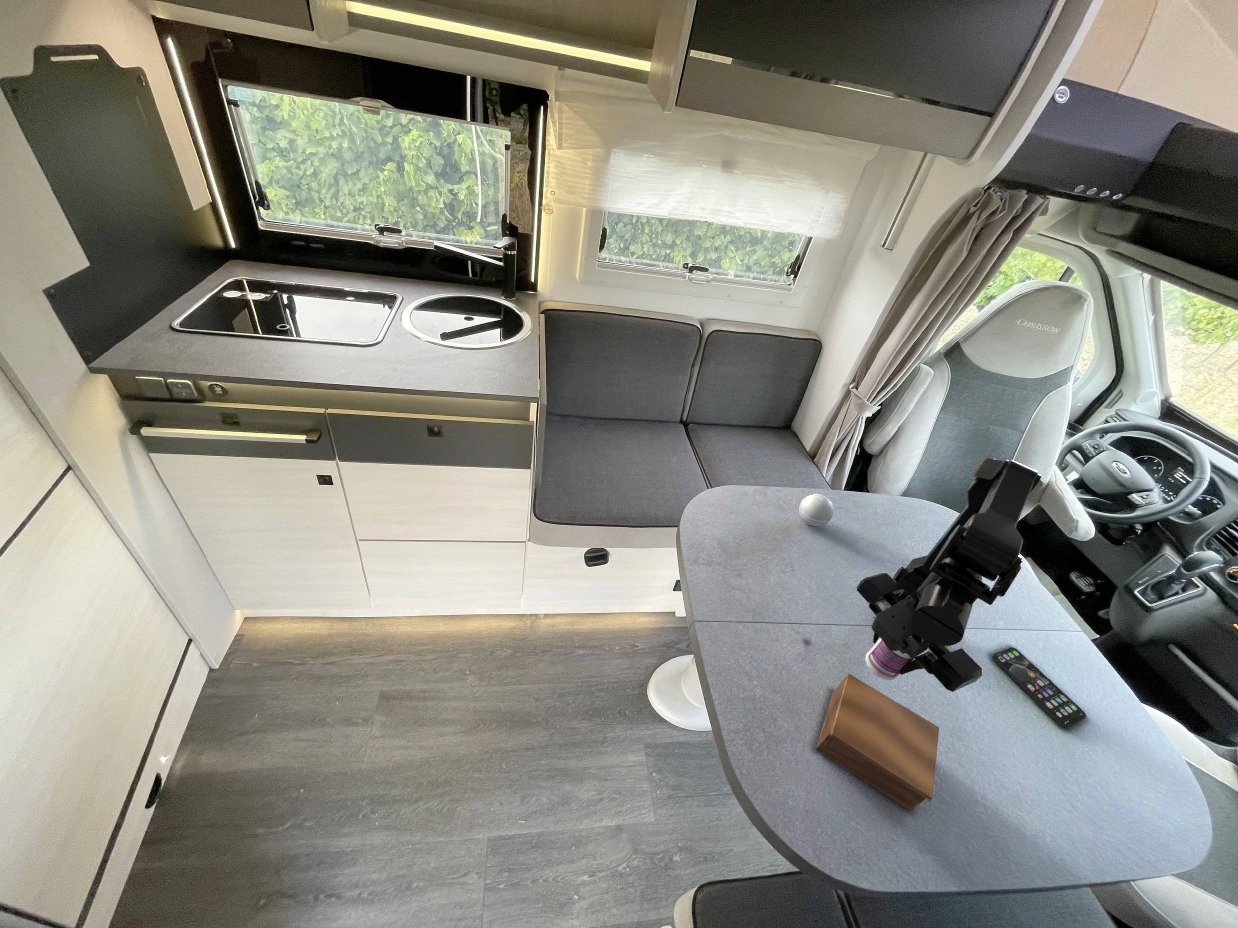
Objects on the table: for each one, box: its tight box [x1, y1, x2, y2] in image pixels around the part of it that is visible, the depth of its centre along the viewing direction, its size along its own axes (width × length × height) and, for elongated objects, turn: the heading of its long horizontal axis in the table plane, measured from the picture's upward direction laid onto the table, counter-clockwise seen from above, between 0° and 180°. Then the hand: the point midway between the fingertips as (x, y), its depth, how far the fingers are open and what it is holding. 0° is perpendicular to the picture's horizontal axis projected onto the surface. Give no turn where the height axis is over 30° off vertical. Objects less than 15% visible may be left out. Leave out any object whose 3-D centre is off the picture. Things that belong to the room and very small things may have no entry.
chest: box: [815, 675, 927, 811], centre depth 80 cm, size 12×15×6 cm
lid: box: [830, 673, 940, 802], centre depth 77 cm, size 12×15×1 cm
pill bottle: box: [865, 638, 915, 681], centre depth 79 cm, size 5×5×10 cm
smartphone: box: [991, 646, 1087, 729], centre depth 96 cm, size 7×1×15 cm
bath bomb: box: [798, 493, 835, 527], centre depth 123 cm, size 8×8×8 cm
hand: (888, 657), depth 81 cm, fingers closed on pill bottle, 5 cm apart
